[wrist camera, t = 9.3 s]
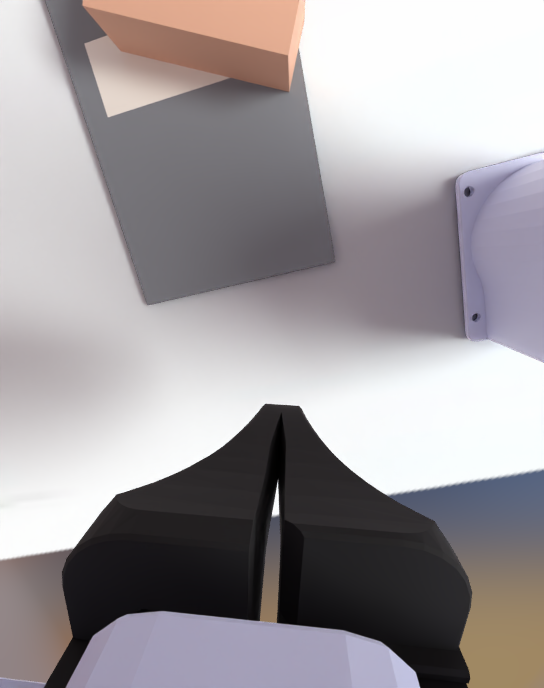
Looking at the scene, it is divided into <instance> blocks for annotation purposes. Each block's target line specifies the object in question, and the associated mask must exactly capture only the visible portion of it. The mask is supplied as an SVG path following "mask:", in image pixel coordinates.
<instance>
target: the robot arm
mask: <svg viewBox="0 0 544 688" xmlns="http://www.w3.org/2000/svg"><path fill="white" fill-rule="evenodd" d="M466 188H469V189H470V195H469V196H468V197H467V196H465V194H464V190H465V189H466ZM456 200H457V215H458V229H459V244H460V258H461V273H462V288H463V302H464V317H465V332H466V337H467V338H468V339H470V340H472V341H481V340H487V339H489V340H492V341H494V342H496V343H499V344H501V345H503V346H506V347H508V348H510V349H513V350H515V351H517V352H520V353H522V354H525V355H527V356H529V357H532V358H534V359H536V360H539V361H541V362H543V363H544V152H542V153H538V154H534V155H530V156H526V157H522V158H518V159H514V160H510V161H507V162H503V163H499V164H495V165H491V166H487V167H483V168H479V169H475V170H471V171H468V172H465V173H463V174H461V175H460V176H459V177H458V178H457V180H456ZM476 313H477V315H478V316H477V318H476V319H475V320H472V316H473V315H474V314H476ZM277 482H278V489H279V515H280V573H279V592H278V613H277V623H270V622H261V621H260V611H261V599H262V588H263V576H264V564H265V554H266V545H267V538H268V532H269V527H270V521H271V516H272V510H273V505H274V499H275V493H276V488H277ZM62 581H63V591H64V596H65V600H66V605H67V610H68V615H69V620H70V624H71V629H72V634H73V638H72V640H71V642H70V643H69V645H68V647H67V649H66V650H65V652H64V654H63V655H62V657H61V659H60V661H59V662H58V664H57V666H56V668H55V669H54V671H53V673H52V674H51V676H50V678H49V679H48V681H47V683H41V682H33V681H25V680H16V679H9V678H1V677H0V688H468V687H467V684H466V683H469V680H470V674H469V670H468V667H467V665H466V662H465V660H464V658H463V656H462V653H461V651H460V648H459V644H460V641H461V638H462V634H463V631H464V628H465V624H466V621H467V618H468V614H469V611H470V608H471V598H472V590H471V586H470V583H469V579H468V576H467V575H466V573H465V571H464V569H463V567H462V566H461V563H460V562H459V560H458V558H457V556H456V554H455V553H454V551H453V549H452V547H451V546H450V544H449V543H448V541H447V540H446V538H445V536H444V535H443V533H442V532H441V531H440V529H439V527H438V526H437V524H436V523H435V521H433V520H431V519H429V518H427V517H425V516H423V515H421V514H419V513H417V512H415V511H413V510H412V509H410V508H408V507H406V506H404V505H402V504H400V503H398V502H396V501H395V500H393V499H392V498H390V497H388V496H387V495H385V494H383V493H382V492H380V491H379V490H377V489H376V488H374V487H373V486H371V485H370V484H368V483H367V482H366V481H364V480H363V479H362V478H360V477H359V476H358V475H356V474H355V473H354V472H353V471H351V470H350V469H349V468H348V467H347V466H345V465H344V464H343V463H342V462H341V461H340V460H339V459H338V458H337V457H336V456H335V455H334V454H333V453H332V452H331V451H330V450H329V449H328V447H327V446H326V445H325V444H324V443H323V441H322V440H321V439H320V438H319V436H318V435H317V433H316V432H315V431H314V429H313V428H312V426H311V425H310V423H309V422H308V420H307V418H306V417H305V415H304V413H303V411H302V409H301V408H300V407H299V406H291V405H275V404H265V405H264V406H263V407H262V408H261V409H260V411H259V412H258V413H257V414H256V415H255V417H254V418H253V419H252V420H251V421H250V422H249V423H248V424H247V425H246V426H245V427H244V428H243V429H242V430H241V431H240V432H239V433H238V434H237V435H236V436H235V437H234V438H232V439H231V440H230V441H229V442H228V443H227V444H225V445H224V446H223V447H221V448H220V449H219V450H217V451H216V452H214V453H213V454H211V455H210V456H208V457H206V458H204V459H203V460H201V461H199V462H197V463H195V464H194V465H192V466H190V467H188V468H186V469H184V470H182V471H180V472H178V473H176V474H174V475H171V476H169V477H166V478H164V479H162V480H159V481H157V482H154V483H151V484H148V485H145V486H142V487H139V488H136V489H133V490H130V491H127V492H124V493H121V494H117V495H116V496H115V497H114V498H113V499H112V501H111V502H110V503H109V504H108V505H107V506H106V507H105V509H104V510H103V511H102V512H101V513H100V515H99V516H98V517H97V519H96V520H95V521H94V523H93V524H92V525H91V527H90V528H89V529H88V531H87V532H86V533H85V535H84V536H83V537H82V539H81V540H80V541H79V543H78V544H77V545H76V547H75V548H74V549H73V551H72V552H71V554H70V555H69V556H68V558H67V559H66V562H65V565H64V568H63V571H62Z"/></svg>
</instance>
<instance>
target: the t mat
mask: <svg viewBox="0 0 544 688" xmlns="http://www.w3.org/2000/svg"><path fill="white" fill-rule="evenodd" d="M45 2H46V5H47V8H48V11H49V14H50V17H51V20H52V23H53V26H54V29H55V32H56V35H57V38H58V40H59V43H60V46H61V49H62V52H63V55H64V58H65V61H66V64H67V67H68V70H69V73H70V76H71V79H72V82H73V85H74V88H75V91H76V94H77V97H78V100H79V103H80V106H81V109H82V112H83V115H84V118H85V121H86V124H87V127H88V130H89V133H90V136H91V139H92V142H93V144H94V147H95V150H96V153H97V156H98V159H99V162H100V165H101V168H102V171H103V174H104V177H105V180H106V183H107V186H108V189H109V192H110V195H111V198H112V201H113V204H114V207H115V210H116V213H117V216H118V219H119V222H120V225H121V228H122V231H123V234H124V237H125V240H126V243H127V246H128V249H129V251H130V254H131V257H132V260H133V263H134V266H135V269H136V272H137V275H138V278H139V281H140V284H141V287H142V290H143V293H144V296H145V299H146V302H147V305H152V304H156V303H160V302H164V301H169V300H173V299H177V298H182V297H186V296H190V295H195V294H199V293H203V292H207V291H212V290H216V289H220V288H225V287H229V286H233V285H237V284H242V283H246V282H250V281H255V280H259V279H263V278H268V277H272V276H276V275H280V274H285V273H289V272H293V271H298V270H302V269H306V268H311V267H315V266H319V265H323V264H328V263H332V262H335V257H334V252H333V246H332V240H331V234H330V228H329V222H328V216H327V211H326V205H325V199H324V193H323V187H322V181H321V176H320V170H319V164H318V158H317V152H316V146H315V140H314V135H313V129H312V123H311V117H310V111H309V105H308V100H307V94H306V88H305V82H304V76H303V70H302V65H301V59H300V53H299V48H298V53H297V58H296V62H295V67H294V72H293V77H292V82H291V86H290V91H289V92H287V91H283V90H279V89H275V88H271V87H267V86H262V85H258V84H254V83H250V82H246V81H242V80H238V79H234V78H229V77H225V76H221V75H217V74H213V73H209V72H205V71H200V70H196V69H192V68H188V67H184V66H180V65H176V64H172V63H167V62H163V61H159V60H155V59H151V58H147V57H143V56H139V55H134V54H130V53H126V52H122V51H120V50H119V48H118V47H117V46H116V45H115V44H114V42H113V41H112V40H111V39H110V38H109V37H108V35H107V34H106V33H105V32H104V31H103V29H102V28H101V27H100V26H99V25H98V23H97V22H96V21H95V20H94V19H93V18H92V16H91V15H90V14H89V13H88V12H87V10H86V9H85V8H84V7H83V0H45Z"/></svg>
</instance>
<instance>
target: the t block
mask: <svg viewBox="0 0 544 688" xmlns="http://www.w3.org/2000/svg"><path fill="white" fill-rule="evenodd" d="M83 7H84V8H85V9H86V10H87V12H88V13H89V14H90V15H91V16H92V18H93V19H94V20H95V21H96V22H97V23H98V25H99V26H100V27H101V28H102V29H103V31H104V32H105V33H106V34H107V35H108V37H109V38H110V39H111V40H112V41H113V42H114V44H115V45H116V46H117V47H118V48H119V50H120V51H122V52H126V53H130V54H134V55H139V56H143V57H147V58H151V59H155V60H159V61H163V62H167V63H172V64H176V65H180V66H184V67H188V68H192V69H196V70H200V71H205V72H209V73H213V74H217V75H221V76H225V77H229V78H234V79H238V80H242V81H246V82H250V83H254V84H258V85H262V86H267V87H271V88H275V89H279V90H283V91H287V92H289V91H290V86H291V82H292V77H293V72H294V67H295V62H296V58H297V53H298V48H299V43H300V39H301V34H302V29H303V24H304V14H305V0H83Z"/></svg>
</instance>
